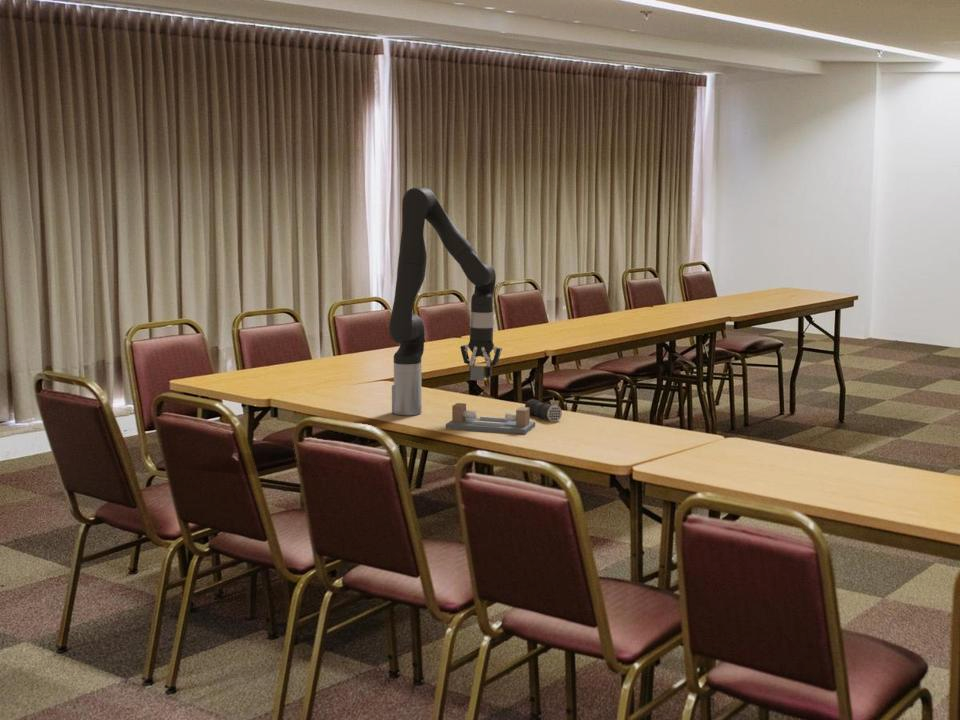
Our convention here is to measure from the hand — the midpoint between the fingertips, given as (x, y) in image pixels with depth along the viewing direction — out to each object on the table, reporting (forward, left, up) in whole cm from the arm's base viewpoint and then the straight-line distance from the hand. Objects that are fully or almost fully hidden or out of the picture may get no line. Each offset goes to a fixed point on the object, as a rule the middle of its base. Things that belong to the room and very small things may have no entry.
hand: (480, 377), depth 377 cm
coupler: (0, 0, 0) cm, 0 cm away
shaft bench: (+7, -12, -14) cm, 20 cm away
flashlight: (+19, +8, -14) cm, 25 cm away
